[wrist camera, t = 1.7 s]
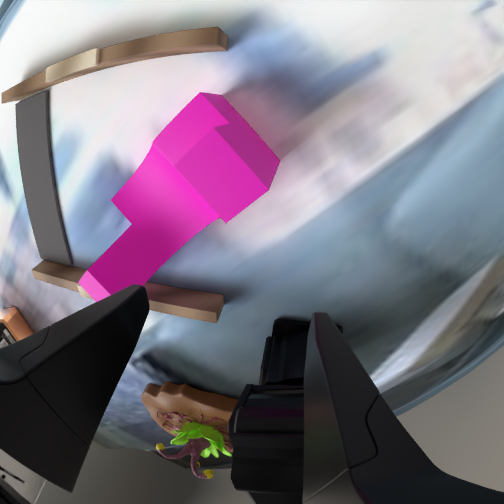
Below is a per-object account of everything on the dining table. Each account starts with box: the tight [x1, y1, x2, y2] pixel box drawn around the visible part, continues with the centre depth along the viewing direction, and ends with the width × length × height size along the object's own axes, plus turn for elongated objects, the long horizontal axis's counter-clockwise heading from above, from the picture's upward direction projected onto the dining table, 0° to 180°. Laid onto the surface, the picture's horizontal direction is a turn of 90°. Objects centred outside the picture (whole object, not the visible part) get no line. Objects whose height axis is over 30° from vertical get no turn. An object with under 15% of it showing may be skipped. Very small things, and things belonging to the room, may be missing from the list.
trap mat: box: [16, 91, 73, 266], centre depth 23 cm, size 6×19×1 cm, turn 178°
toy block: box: [78, 92, 280, 302], centre depth 18 cm, size 15×6×8 cm, turn 131°
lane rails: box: [2, 27, 228, 323], centre depth 20 cm, size 24×23×3 cm
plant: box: [141, 382, 239, 479], centre depth 34 cm, size 20×20×11 cm
